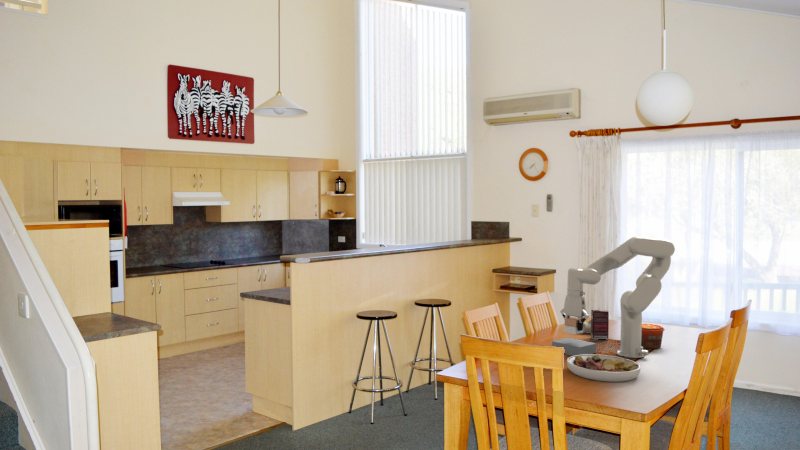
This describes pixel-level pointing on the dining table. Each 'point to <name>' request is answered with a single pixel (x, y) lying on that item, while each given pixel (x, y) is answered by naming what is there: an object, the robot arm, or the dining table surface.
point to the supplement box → (599, 324)
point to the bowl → (603, 367)
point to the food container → (651, 336)
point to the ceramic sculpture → (587, 327)
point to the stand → (575, 346)
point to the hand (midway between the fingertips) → (573, 328)
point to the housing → (572, 325)
